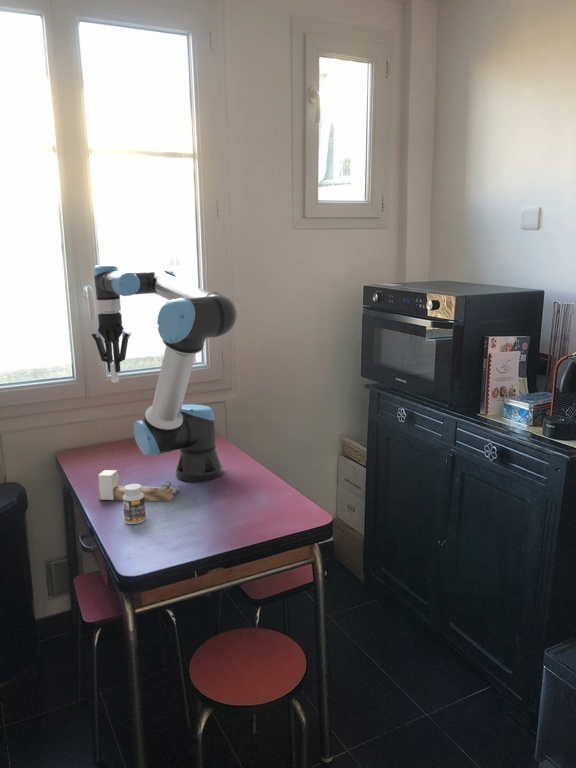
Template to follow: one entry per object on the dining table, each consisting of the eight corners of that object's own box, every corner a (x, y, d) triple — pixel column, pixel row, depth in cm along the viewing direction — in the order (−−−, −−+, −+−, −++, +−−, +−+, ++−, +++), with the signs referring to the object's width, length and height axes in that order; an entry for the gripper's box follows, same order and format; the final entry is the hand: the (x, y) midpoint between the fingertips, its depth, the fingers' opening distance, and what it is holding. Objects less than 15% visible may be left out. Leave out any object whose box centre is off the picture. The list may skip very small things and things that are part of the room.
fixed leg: (172, 488, 191) (171, 481, 190) (164, 497, 184) (163, 490, 183) (165, 488, 191) (165, 481, 191) (158, 497, 184) (157, 490, 184)
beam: (172, 498, 187) (172, 488, 186) (170, 501, 184) (169, 491, 184) (102, 495, 190) (102, 486, 189) (99, 499, 187) (98, 489, 187)
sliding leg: (123, 490, 193) (121, 466, 191) (113, 499, 186) (111, 475, 184) (110, 489, 194) (108, 466, 192) (100, 499, 186) (98, 475, 185)
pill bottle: (135, 526, 168) (132, 492, 166) (120, 522, 171) (117, 488, 169) (150, 518, 173) (147, 485, 170) (135, 514, 176) (132, 481, 174)
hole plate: (178, 490, 193) (178, 487, 192) (174, 496, 188) (174, 492, 188) (110, 488, 195) (110, 485, 195) (104, 494, 191) (104, 490, 191)
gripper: (132, 310, 210) (137, 379, 215) (95, 311, 212) (101, 379, 216) (123, 313, 203) (129, 384, 208) (85, 313, 204) (92, 383, 209)
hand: (115, 381), depth 212 cm, fingers closed
